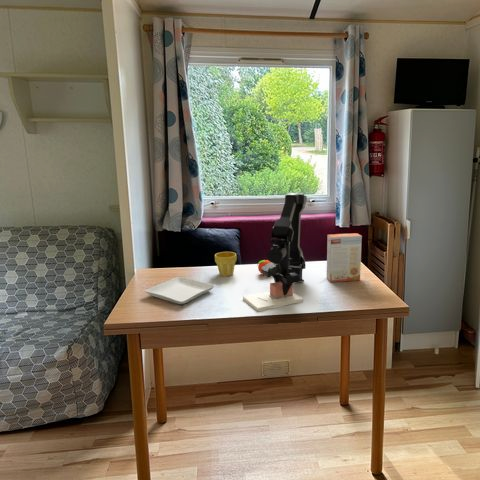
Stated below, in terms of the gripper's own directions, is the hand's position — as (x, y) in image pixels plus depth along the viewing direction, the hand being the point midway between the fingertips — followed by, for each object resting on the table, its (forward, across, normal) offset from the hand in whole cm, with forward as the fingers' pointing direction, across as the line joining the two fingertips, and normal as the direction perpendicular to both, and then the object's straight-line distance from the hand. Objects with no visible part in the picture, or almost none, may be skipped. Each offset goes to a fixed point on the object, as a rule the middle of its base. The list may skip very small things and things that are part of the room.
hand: (281, 292), depth 161 cm
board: (+2, 0, -4) cm, 5 cm away
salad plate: (+3, -23, -36) cm, 43 cm away
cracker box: (+3, -6, +36) cm, 36 cm away
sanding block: (+1, 0, 0) cm, 1 cm away
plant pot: (+3, -38, -9) cm, 39 cm away
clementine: (+3, -29, +8) cm, 30 cm away
